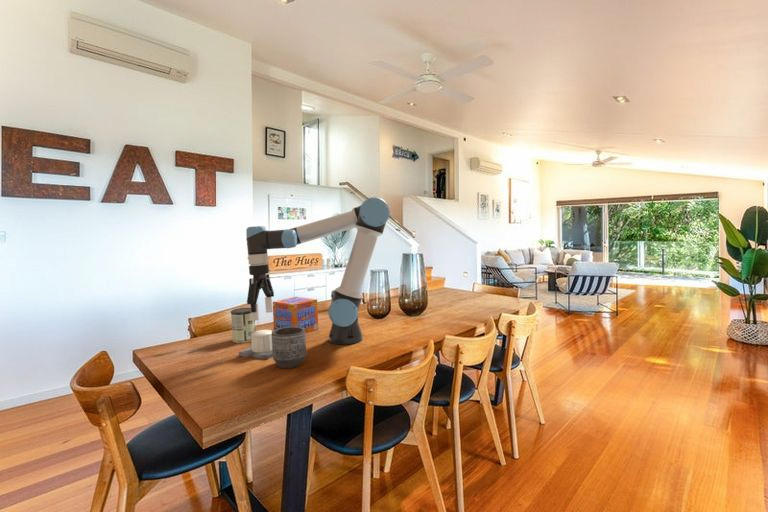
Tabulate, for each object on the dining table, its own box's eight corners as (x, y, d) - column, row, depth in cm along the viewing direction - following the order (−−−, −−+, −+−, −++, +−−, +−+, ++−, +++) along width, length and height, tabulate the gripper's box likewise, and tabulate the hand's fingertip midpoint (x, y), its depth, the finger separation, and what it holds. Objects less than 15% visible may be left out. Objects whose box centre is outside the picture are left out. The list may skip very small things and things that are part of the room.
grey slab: (286, 349, 156) (285, 334, 155) (267, 359, 144) (266, 342, 144) (258, 346, 161) (258, 332, 160) (239, 355, 149) (238, 340, 149)
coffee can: (239, 336, 178) (237, 307, 177) (259, 336, 177) (258, 307, 176) (227, 343, 167) (226, 312, 166) (249, 343, 166) (248, 312, 165)
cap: (277, 347, 155) (277, 330, 154) (264, 353, 147) (263, 336, 146) (261, 345, 158) (260, 329, 157) (247, 351, 150) (246, 334, 149)
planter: (289, 372, 130) (287, 337, 129) (265, 366, 136) (264, 332, 135) (313, 361, 140) (312, 328, 139) (290, 356, 147) (289, 325, 146)
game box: (297, 325, 196) (296, 296, 195) (318, 329, 187) (317, 298, 186) (273, 332, 183) (272, 301, 182) (295, 337, 175) (293, 304, 173)
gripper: (262, 262, 163) (266, 309, 164) (234, 268, 138) (239, 324, 139) (279, 261, 162) (282, 309, 163) (253, 267, 137) (258, 323, 139)
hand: (262, 316), depth 151 cm, fingers open, 13 cm apart
